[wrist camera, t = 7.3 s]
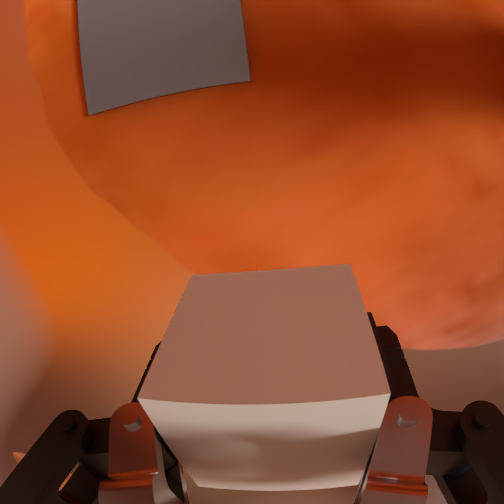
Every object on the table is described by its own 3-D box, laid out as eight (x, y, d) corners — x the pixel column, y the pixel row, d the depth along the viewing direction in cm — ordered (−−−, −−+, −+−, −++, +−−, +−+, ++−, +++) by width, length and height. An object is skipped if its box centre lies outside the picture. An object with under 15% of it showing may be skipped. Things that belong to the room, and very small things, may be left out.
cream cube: (350, 263, 10) (390, 393, 5) (343, 372, 12) (357, 484, 7) (192, 275, 10) (137, 397, 6) (220, 378, 12) (197, 486, 8)
